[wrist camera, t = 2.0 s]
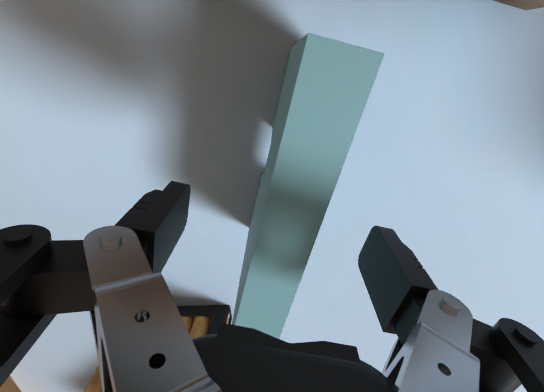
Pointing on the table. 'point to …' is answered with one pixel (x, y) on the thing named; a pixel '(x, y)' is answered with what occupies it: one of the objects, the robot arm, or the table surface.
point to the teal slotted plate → (301, 172)
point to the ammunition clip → (197, 324)
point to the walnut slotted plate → (523, 3)
